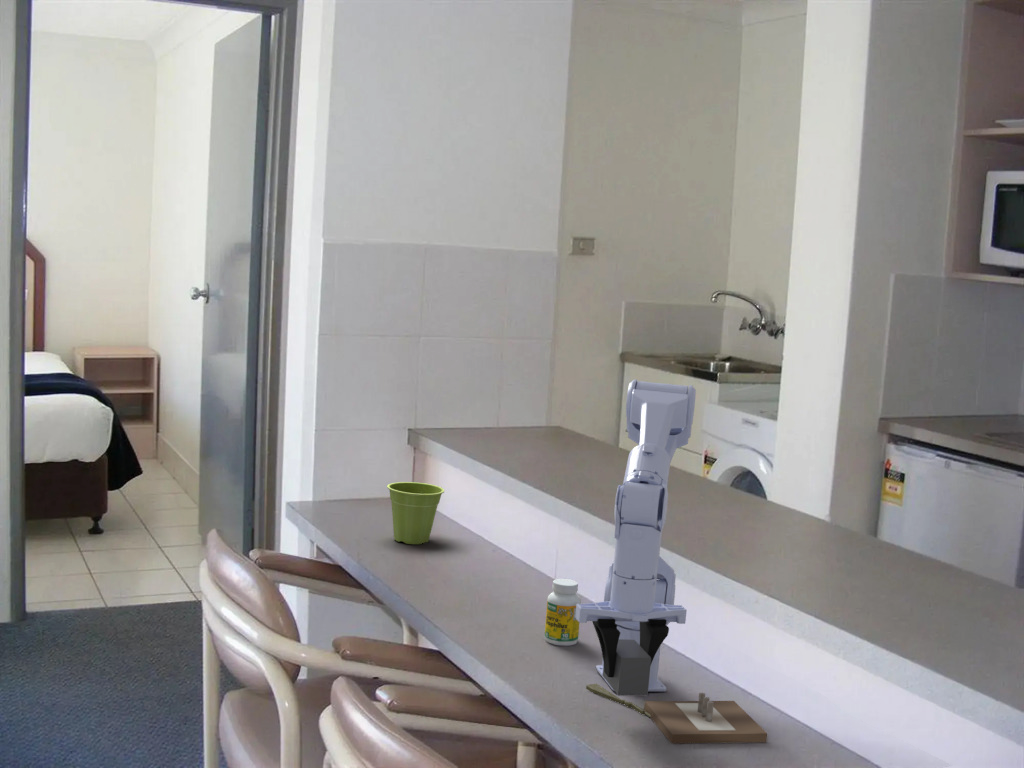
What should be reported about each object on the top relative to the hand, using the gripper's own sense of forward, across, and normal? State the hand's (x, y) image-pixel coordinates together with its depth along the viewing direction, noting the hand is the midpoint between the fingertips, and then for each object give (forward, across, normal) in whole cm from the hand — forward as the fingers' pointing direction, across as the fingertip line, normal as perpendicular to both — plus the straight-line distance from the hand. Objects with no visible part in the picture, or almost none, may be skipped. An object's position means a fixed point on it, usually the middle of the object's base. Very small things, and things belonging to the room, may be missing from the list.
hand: (625, 674), depth 152 cm
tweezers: (+7, +2, +7) cm, 10 cm away
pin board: (+6, +11, -2) cm, 13 cm away
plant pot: (+7, -16, +94) cm, 96 cm away
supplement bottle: (+7, 0, +32) cm, 33 cm away
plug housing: (+1, 0, 0) cm, 1 cm away
